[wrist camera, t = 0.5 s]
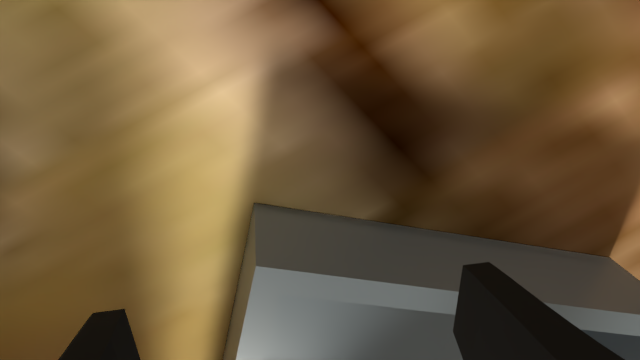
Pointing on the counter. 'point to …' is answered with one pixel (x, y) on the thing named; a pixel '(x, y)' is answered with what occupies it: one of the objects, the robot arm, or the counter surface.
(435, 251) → the grey tote
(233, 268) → the counter surface
